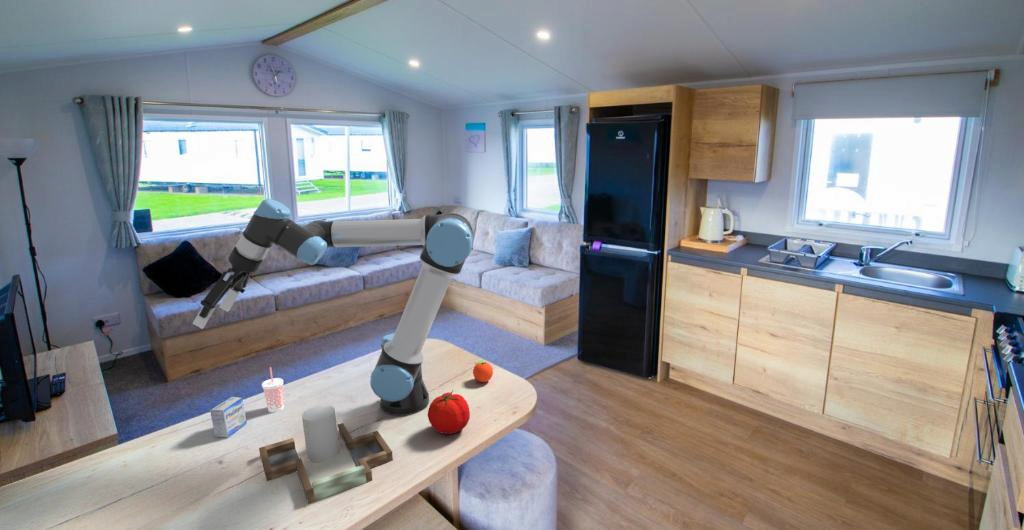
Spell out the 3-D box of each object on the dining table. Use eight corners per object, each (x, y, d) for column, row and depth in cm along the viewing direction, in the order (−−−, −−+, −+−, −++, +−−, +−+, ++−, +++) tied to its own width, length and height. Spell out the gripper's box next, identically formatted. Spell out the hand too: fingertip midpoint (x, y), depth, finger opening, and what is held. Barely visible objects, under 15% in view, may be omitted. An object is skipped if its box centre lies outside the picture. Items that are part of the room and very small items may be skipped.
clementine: (467, 380, 177) (466, 361, 175) (482, 373, 181) (482, 355, 180) (481, 387, 171) (481, 368, 169) (497, 381, 176) (496, 362, 174)
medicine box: (227, 438, 144) (223, 410, 142) (214, 437, 145) (209, 409, 143) (247, 423, 152) (243, 397, 150) (234, 422, 153) (229, 396, 151)
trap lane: (367, 423, 151) (366, 411, 150) (399, 470, 129) (398, 456, 128) (260, 456, 136) (258, 442, 135) (275, 515, 114) (273, 500, 113)
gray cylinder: (312, 445, 140) (307, 405, 137) (342, 443, 141) (338, 404, 138) (303, 463, 132) (297, 421, 130) (335, 461, 133) (330, 420, 130)
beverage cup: (276, 414, 156) (270, 372, 153) (260, 411, 158) (254, 370, 155) (291, 405, 162) (285, 364, 159) (275, 402, 164) (270, 362, 161)
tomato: (468, 417, 153) (467, 383, 150) (472, 439, 142) (470, 402, 139) (428, 422, 151) (426, 387, 148) (428, 444, 140) (426, 407, 137)
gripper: (256, 236, 146) (221, 296, 149) (211, 255, 122) (171, 325, 125) (280, 251, 147) (244, 309, 150) (240, 272, 123) (199, 341, 126)
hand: (211, 317), depth 138 cm, fingers open, 13 cm apart
